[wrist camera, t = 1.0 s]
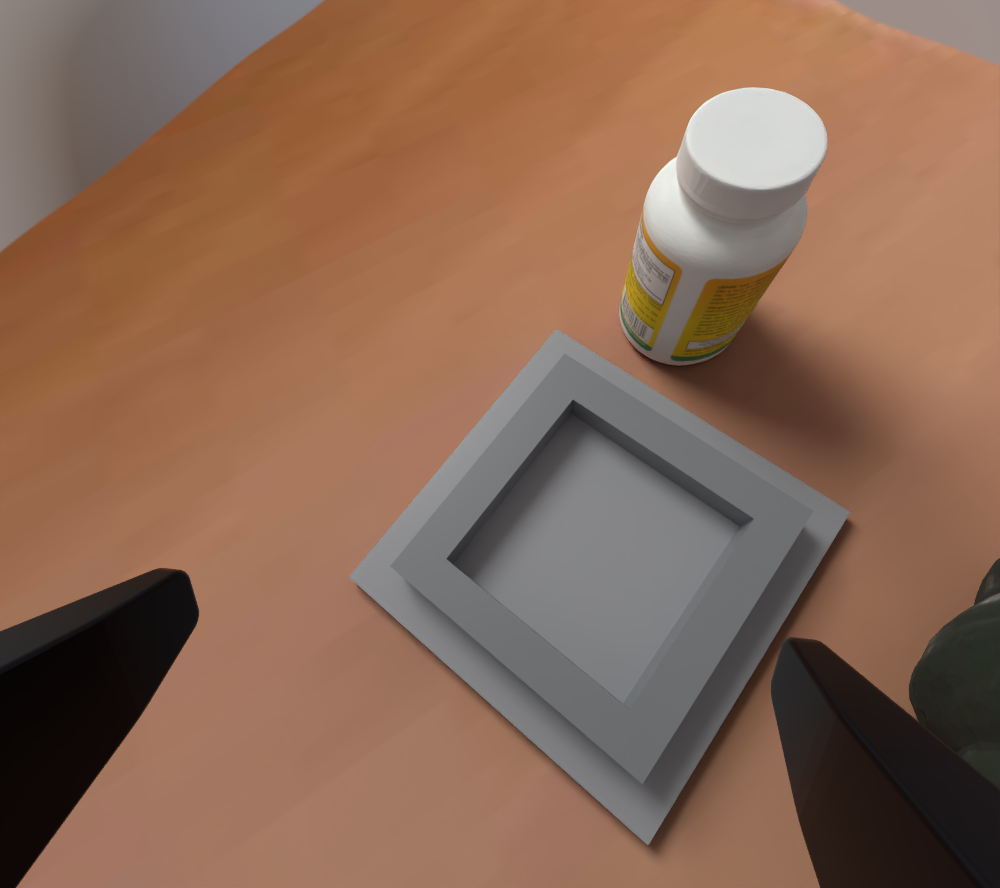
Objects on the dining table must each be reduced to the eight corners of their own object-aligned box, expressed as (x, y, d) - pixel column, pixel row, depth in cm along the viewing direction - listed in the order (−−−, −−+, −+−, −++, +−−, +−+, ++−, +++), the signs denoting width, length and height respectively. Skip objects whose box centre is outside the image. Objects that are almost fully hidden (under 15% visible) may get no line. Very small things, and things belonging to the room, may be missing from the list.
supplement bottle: (599, 344, 24) (632, 174, 15) (643, 255, 25) (696, 52, 16) (714, 387, 23) (823, 231, 14) (753, 292, 24) (875, 94, 15)
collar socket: (644, 838, 18) (657, 865, 16) (354, 578, 21) (334, 573, 19) (842, 514, 21) (873, 503, 19) (556, 335, 24) (556, 310, 22)
